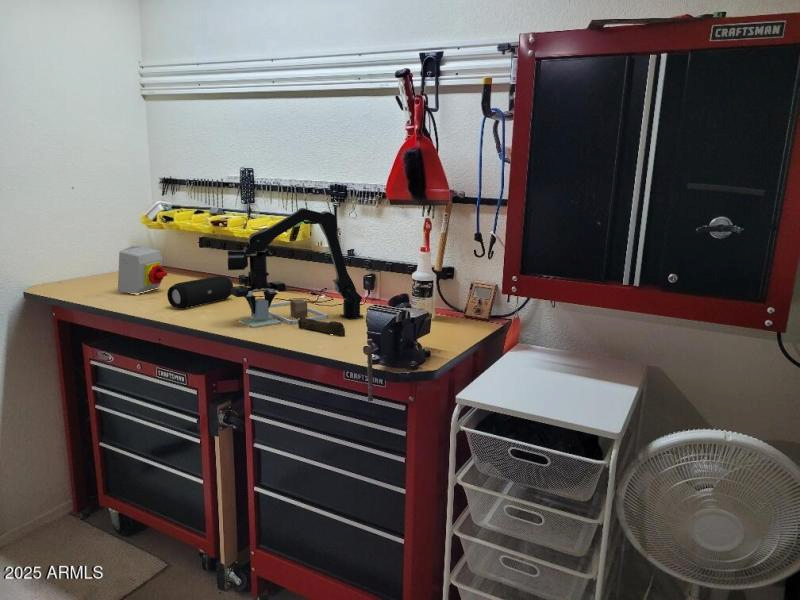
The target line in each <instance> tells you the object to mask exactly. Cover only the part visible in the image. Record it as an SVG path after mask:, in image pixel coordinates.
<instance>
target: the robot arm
mask: <svg viewBox="0 0 800 600" xmlns="http://www.w3.org/2000/svg"><path fill="white" fill-rule="evenodd" d="M304 221H308V222H311V223H315V224H318V225H319V226H318V227H320V229H321V231H322V233H323V235H324V237H325V240H326V243H327V246H328V250H329V253H330V257H331V260H332V263H333V268H334V270H335V274H336V276H335V277H336V278H335V279H333V280H332V281H333V284H334V287H335V289H334V290H335V291H336V292H337V293H338V294H340V295H341V297H342V298H343V306H342V308H343V311H342V313H341V314H339V315H340V317H342V318H344V319H346V320H353V319H360V318H364V315H363V314H361V302H362V300H363V296H361V295H360V294H359V293H358V292H357V288H356V286H355V284H354V281H353V280H352V277H351V276H350V275H349V273H348V269H347V266H346V262H345V259H344V256H343V252H342V248H341V245H340V241H339V237H338V223H337V217H336V215H335V214H334V213H332V212H330V211H327V210H323V211H316V210H312V209H311V210H310V209H307V208H306V207H300V208H298V210H297V211H294V212H293V213H292V214H290V215H288V216H286V217H284V218H283V219H282V220H279V221H278V222H277V223H275V224H273V225H271V226H269V227H267V228H263V229H261V230H257V231H256V232H252V233H251V234H250V235H249V237H248V241H247V242H248V243H247V244H246V245H245V247H243V250H232V249H231V250H227V261H226V263H227V271H244V270H246V269H247V268H248V267H249V271H248V272H247V274H248V275H247V276H246V274H240V275H238V284H239V285H235V286H234V285H233V287H232V288H231V295H230V296H233V297H235V298H245V300H246V301H247V303H248V306H249V309H250V312H251V311H252V313H253V314H255V299H256V295H254V293H260V292H263V293H262V294H263V296H264V299H265V300H268V308H269V307H270V305H271V304H272V302H273V300H274V299H275V296H276V295H277V296H278V292H279V293H281V292H282V293H283V292H286V291H287V285H286V283H285V282H283V281H281V280H278V281H276V280H275V281H271V282H269V283H268V276H269V275H270V274H269V272H268V266H267V265H268V264H267V257H268V258H269V257H270V258H271V257H272V256H273V254H272V253H271V252H270V251H269V250H268V248H267V247H268V246H269V245H270V244H271V243H272V242H273V241H274V240H275V239H277V237H279V236H280V235H283V234H284V233H285V232H288V231H289V230H291V229H292V228H293V227H296V226H297V225H299V224H301V222H304ZM263 250H264V251H263ZM243 285H244V286H243ZM269 309H270V308H269Z"/></svg>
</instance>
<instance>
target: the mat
mask: <svg viewBox="0 0 800 600" xmlns="http://www.w3.org/2000/svg"><path fill="white" fill-rule="evenodd" d="M238 321H241V322H243V323H245V324H247V325H249V326H251V327H256V328H259V327H258V326H262V327H266V326H265V325H269V326H273V325H272V324H275V325H279V324H278V323H281V324H282V322H283V321H281V320H279V319H277V318H274V317H272V316H270V315H269V317H267V318H260V319H256V318H254V317H246V318H241V319H238ZM241 322H240V323H241ZM243 323H242V324H243ZM245 324H244V325H245ZM247 325H246V326H247ZM249 326H248V327H249ZM251 327H250V328H251Z"/></svg>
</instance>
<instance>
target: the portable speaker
mask: <svg viewBox="0 0 800 600" xmlns="http://www.w3.org/2000/svg"><path fill="white" fill-rule="evenodd" d="M232 287H234V284H233V281H232V280H231V279H230V277H227V276H224V275H216V276H215V275H214V276H210V277H204V278H199V279H193V280H188V281H182V282H177V283H174V284H172V285H171V286H170V287H169V288H168V289H167V294H166V295H167V300H168V301H167V302H168V303H169V304H170V305H171V307H173V308H175V309H180V308H184V309H187V308H186V307H189V308H192V307H191V306H193V307H197V306H196V305H198V306H201V305H200V304H202V305H206V304H205V303H207V304H210V302H211V303H215V302H214V301H216V302H219V300H220V301H224V300H227V299H228V298H229V297H231V296H232V295H231V288H232ZM223 299H224V300H223Z"/></svg>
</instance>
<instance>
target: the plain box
mask: <svg viewBox="0 0 800 600" xmlns="http://www.w3.org/2000/svg"><path fill="white" fill-rule="evenodd" d="M289 301H290V305H289V306H290V318H293V317H294V318H293V319H295V318H296V319H295V320H297V319H298V318H301V317H307V318H308V311H307V307H308V301H306V300H305V299H302V298H300V299H294V300H289Z"/></svg>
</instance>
